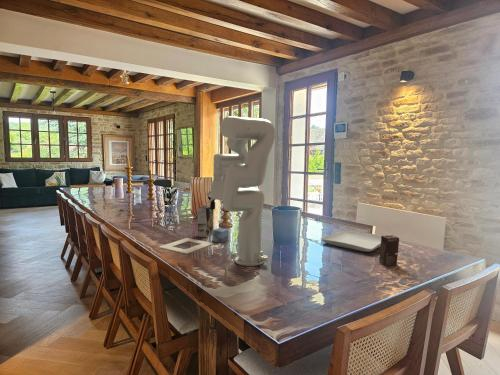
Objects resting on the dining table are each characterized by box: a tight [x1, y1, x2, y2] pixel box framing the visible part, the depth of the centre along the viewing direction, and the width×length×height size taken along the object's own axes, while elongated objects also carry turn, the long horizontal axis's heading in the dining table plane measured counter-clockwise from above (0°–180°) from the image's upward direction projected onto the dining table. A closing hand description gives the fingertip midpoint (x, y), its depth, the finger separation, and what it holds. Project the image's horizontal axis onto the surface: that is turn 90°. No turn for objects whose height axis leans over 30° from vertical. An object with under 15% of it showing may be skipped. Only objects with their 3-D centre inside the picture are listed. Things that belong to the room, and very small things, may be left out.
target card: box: [158, 237, 215, 255], centre depth 162 cm, size 18×20×1 cm
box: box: [378, 235, 400, 266], centre depth 139 cm, size 6×4×12 cm
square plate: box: [320, 230, 382, 253], centre depth 170 cm, size 27×27×4 cm
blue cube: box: [211, 227, 229, 244], centre depth 172 cm, size 6×6×6 cm
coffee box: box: [196, 205, 215, 238], centre depth 183 cm, size 9×6×16 cm
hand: (220, 210), depth 171 cm, fingers open, 9 cm apart
